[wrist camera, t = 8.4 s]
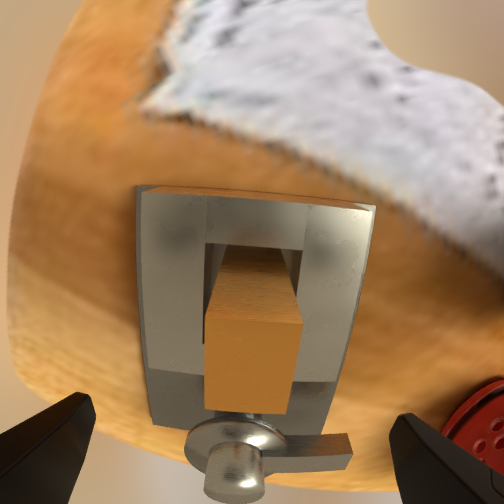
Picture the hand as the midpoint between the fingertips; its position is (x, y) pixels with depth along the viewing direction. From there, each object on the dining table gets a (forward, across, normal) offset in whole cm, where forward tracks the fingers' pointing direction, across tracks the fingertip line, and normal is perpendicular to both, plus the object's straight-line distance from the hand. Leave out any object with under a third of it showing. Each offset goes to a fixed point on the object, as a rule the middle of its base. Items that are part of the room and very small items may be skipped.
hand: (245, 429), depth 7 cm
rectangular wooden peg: (+12, 0, 0) cm, 12 cm away
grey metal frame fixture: (+12, 0, +5) cm, 13 cm away
